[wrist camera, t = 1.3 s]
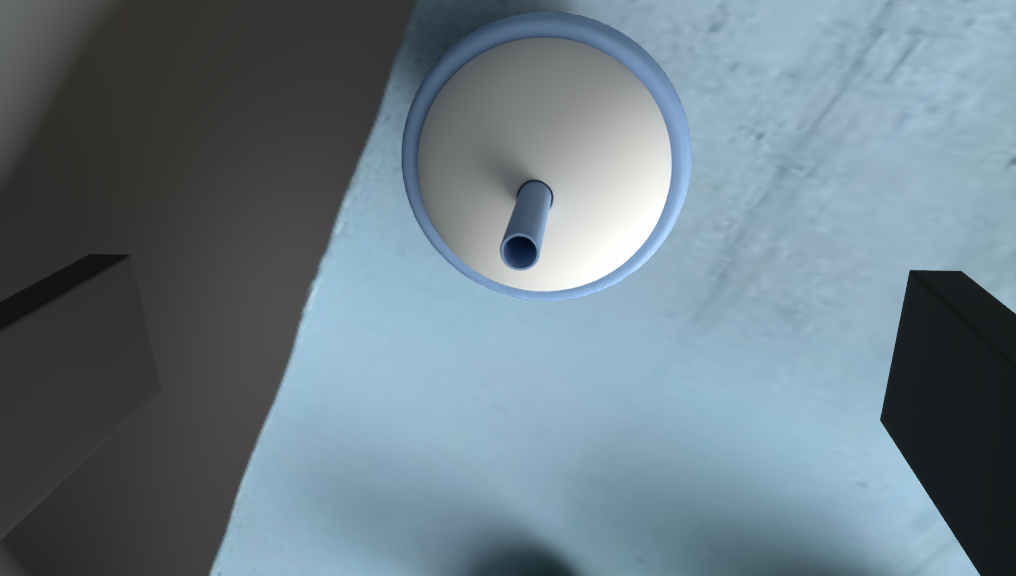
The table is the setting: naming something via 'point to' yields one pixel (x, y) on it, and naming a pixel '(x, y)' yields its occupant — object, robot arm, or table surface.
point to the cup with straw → (546, 156)
